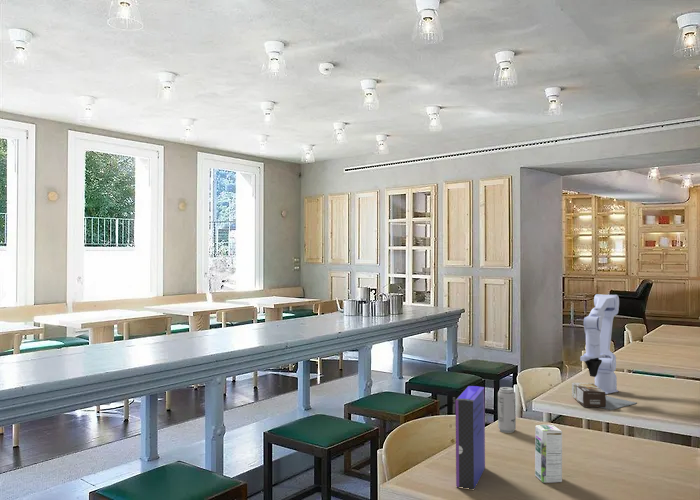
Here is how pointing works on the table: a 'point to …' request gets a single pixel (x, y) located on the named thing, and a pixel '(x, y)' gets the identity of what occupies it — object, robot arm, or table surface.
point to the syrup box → (548, 453)
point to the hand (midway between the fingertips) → (593, 376)
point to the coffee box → (588, 395)
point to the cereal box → (470, 436)
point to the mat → (616, 403)
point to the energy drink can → (506, 410)
